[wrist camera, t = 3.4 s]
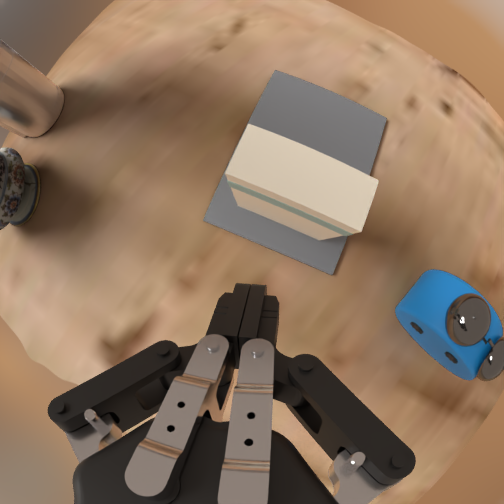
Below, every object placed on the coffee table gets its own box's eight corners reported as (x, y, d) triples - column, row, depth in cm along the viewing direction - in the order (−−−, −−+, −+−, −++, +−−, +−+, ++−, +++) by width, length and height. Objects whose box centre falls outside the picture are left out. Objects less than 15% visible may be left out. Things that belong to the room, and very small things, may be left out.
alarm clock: (455, 327, 33) (527, 354, 18) (429, 361, 33) (495, 403, 18) (407, 264, 33) (485, 271, 18) (376, 301, 34) (445, 330, 19)
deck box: (319, 241, 33) (361, 232, 19) (237, 206, 33) (223, 173, 19) (332, 208, 33) (379, 180, 19) (251, 173, 33) (248, 122, 19)
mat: (331, 274, 34) (332, 275, 33) (203, 220, 34) (202, 220, 33) (385, 119, 34) (386, 118, 33) (274, 71, 34) (275, 69, 33)
